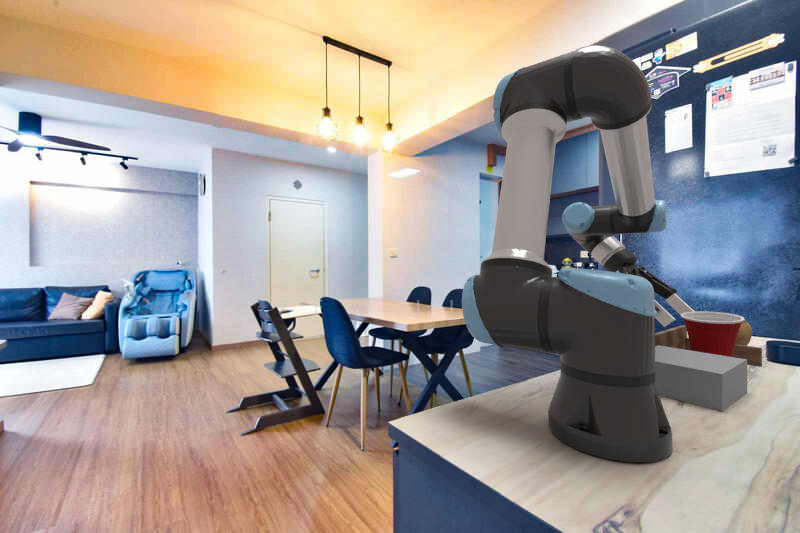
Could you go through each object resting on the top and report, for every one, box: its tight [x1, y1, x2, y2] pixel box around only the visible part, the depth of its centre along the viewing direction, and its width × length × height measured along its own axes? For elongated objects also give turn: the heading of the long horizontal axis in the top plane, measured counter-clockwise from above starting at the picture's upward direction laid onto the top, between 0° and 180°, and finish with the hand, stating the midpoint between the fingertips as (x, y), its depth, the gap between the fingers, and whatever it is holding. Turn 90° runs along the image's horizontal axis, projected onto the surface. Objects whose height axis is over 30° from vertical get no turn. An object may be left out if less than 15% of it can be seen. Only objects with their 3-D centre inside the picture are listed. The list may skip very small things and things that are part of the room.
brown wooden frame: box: [655, 325, 763, 367], centre depth 81 cm, size 22×15×7 cm
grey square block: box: [655, 345, 748, 412], centre depth 68 cm, size 14×14×6 cm
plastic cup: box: [680, 310, 746, 357], centre depth 80 cm, size 11×11×12 cm
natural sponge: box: [736, 319, 753, 346], centre depth 92 cm, size 9×9×10 cm
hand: (681, 320), depth 85 cm, fingers open, 13 cm apart
